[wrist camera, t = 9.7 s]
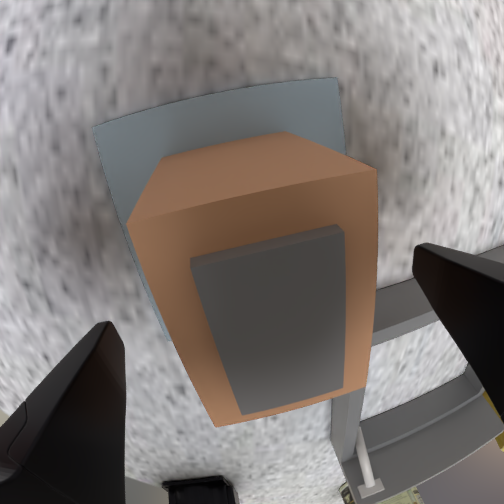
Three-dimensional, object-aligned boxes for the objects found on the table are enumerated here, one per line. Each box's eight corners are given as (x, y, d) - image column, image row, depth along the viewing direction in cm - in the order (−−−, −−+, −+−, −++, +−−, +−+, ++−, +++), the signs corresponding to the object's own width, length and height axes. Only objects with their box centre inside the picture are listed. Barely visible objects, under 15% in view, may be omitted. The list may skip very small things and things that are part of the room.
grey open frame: (330, 440, 25) (358, 511, 18) (332, 303, 17) (401, 419, 10) (465, 380, 26) (502, 431, 19) (512, 241, 18) (584, 295, 11)
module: (203, 302, 15) (216, 437, 9) (161, 157, 12) (121, 232, 5) (304, 277, 15) (370, 395, 9) (285, 131, 12) (386, 174, 6)
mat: (168, 336, 16) (167, 341, 16) (95, 126, 11) (92, 127, 11) (348, 291, 17) (351, 296, 17) (333, 77, 12) (337, 77, 11)
